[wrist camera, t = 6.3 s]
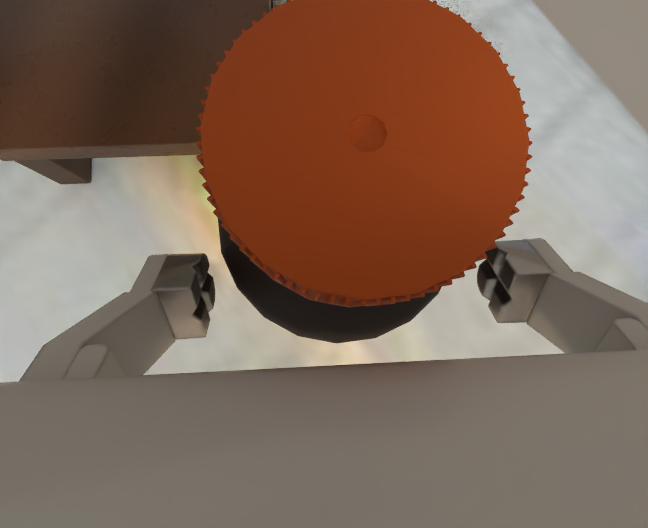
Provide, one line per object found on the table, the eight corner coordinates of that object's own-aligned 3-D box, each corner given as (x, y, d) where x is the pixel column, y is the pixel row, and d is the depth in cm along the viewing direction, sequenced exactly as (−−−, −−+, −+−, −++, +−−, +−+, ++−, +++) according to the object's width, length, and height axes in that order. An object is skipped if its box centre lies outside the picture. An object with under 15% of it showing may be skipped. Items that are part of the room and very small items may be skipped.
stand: (57, 187, 25) (-21, 150, 19) (64, -16, 27) (-5, -107, 21) (282, 179, 26) (273, 140, 20) (275, -19, 28) (265, -109, 22)
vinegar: (375, 224, 26) (586, -64, 6) (373, 325, 25) (614, 383, 5) (274, 220, 26) (147, -90, 6) (269, 322, 25) (102, 371, 5)
